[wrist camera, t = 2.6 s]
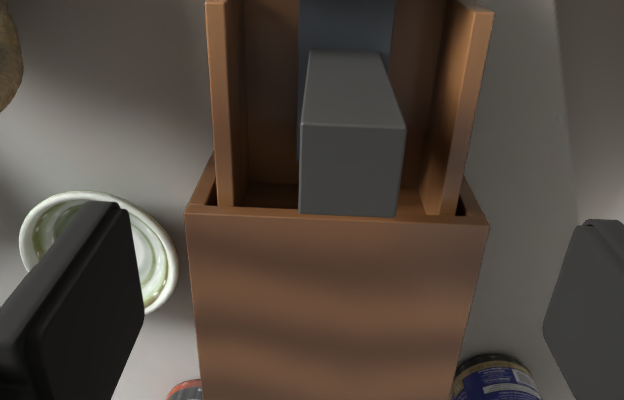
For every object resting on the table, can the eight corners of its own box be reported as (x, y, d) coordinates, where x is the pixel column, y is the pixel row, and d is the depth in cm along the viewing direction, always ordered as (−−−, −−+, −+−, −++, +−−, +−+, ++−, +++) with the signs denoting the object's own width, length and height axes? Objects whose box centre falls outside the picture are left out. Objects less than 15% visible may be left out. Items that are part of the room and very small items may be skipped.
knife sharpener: (390, -21, 24) (440, 35, 13) (373, 141, 27) (402, 284, 17) (302, -25, 24) (282, 29, 13) (298, 138, 28) (281, 279, 17)
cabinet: (217, 141, 30) (183, 212, 23) (452, 150, 30) (491, 225, 23) (228, 329, 37) (205, 428, 30) (418, 338, 37) (439, 439, 30)
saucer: (6, 196, 32) (-17, 216, 30) (147, 156, 30) (134, 175, 28) (83, 311, 36) (68, 336, 34) (210, 282, 35) (202, 305, 33)
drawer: (206, -193, 22) (165, -227, 16) (504, -182, 21) (565, -212, 16) (226, 184, 30) (204, 245, 25) (438, 192, 30) (463, 256, 25)
